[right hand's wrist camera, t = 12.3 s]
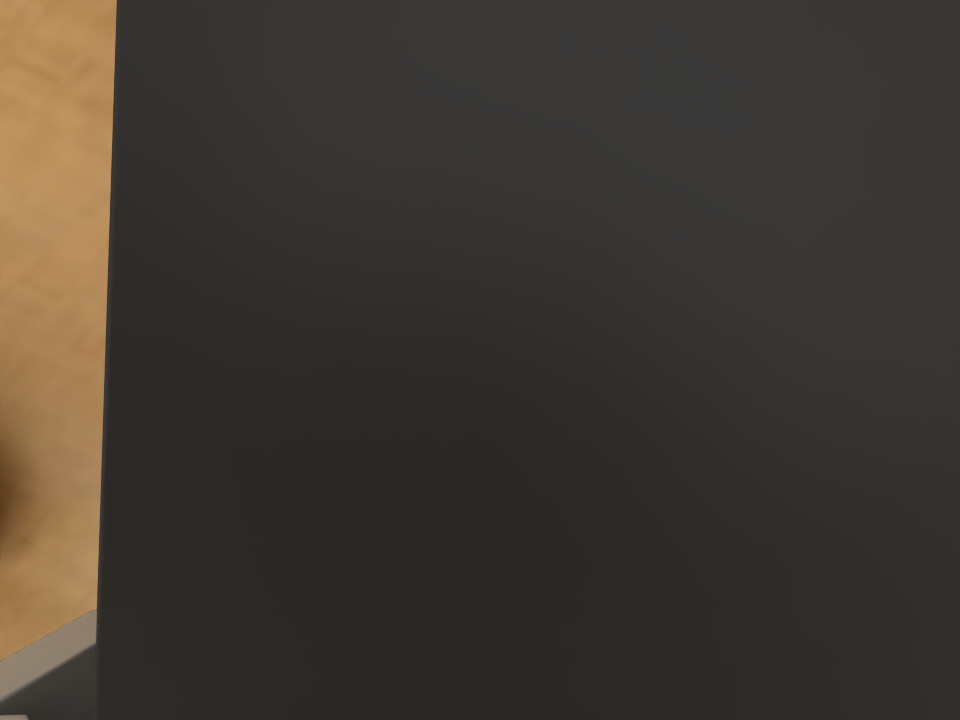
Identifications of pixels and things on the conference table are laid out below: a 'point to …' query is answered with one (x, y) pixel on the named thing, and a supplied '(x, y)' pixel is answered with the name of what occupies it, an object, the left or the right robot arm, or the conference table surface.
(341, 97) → the box
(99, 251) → the conference table surface
